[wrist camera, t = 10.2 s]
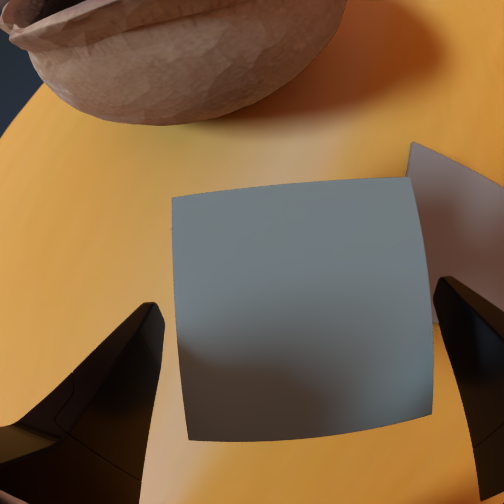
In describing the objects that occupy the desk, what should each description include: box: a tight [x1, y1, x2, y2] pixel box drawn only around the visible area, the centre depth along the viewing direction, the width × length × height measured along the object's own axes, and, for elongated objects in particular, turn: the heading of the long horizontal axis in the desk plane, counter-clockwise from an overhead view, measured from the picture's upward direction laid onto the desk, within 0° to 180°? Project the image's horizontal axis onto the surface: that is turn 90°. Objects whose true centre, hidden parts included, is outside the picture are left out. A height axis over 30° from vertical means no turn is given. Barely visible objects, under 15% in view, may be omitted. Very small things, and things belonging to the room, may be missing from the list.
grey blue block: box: [172, 177, 434, 442], centre depth 13 cm, size 7×7×10 cm
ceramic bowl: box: [0, 0, 347, 126], centre depth 15 cm, size 22×22×15 cm
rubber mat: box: [406, 142, 504, 324], centre depth 18 cm, size 12×12×1 cm
